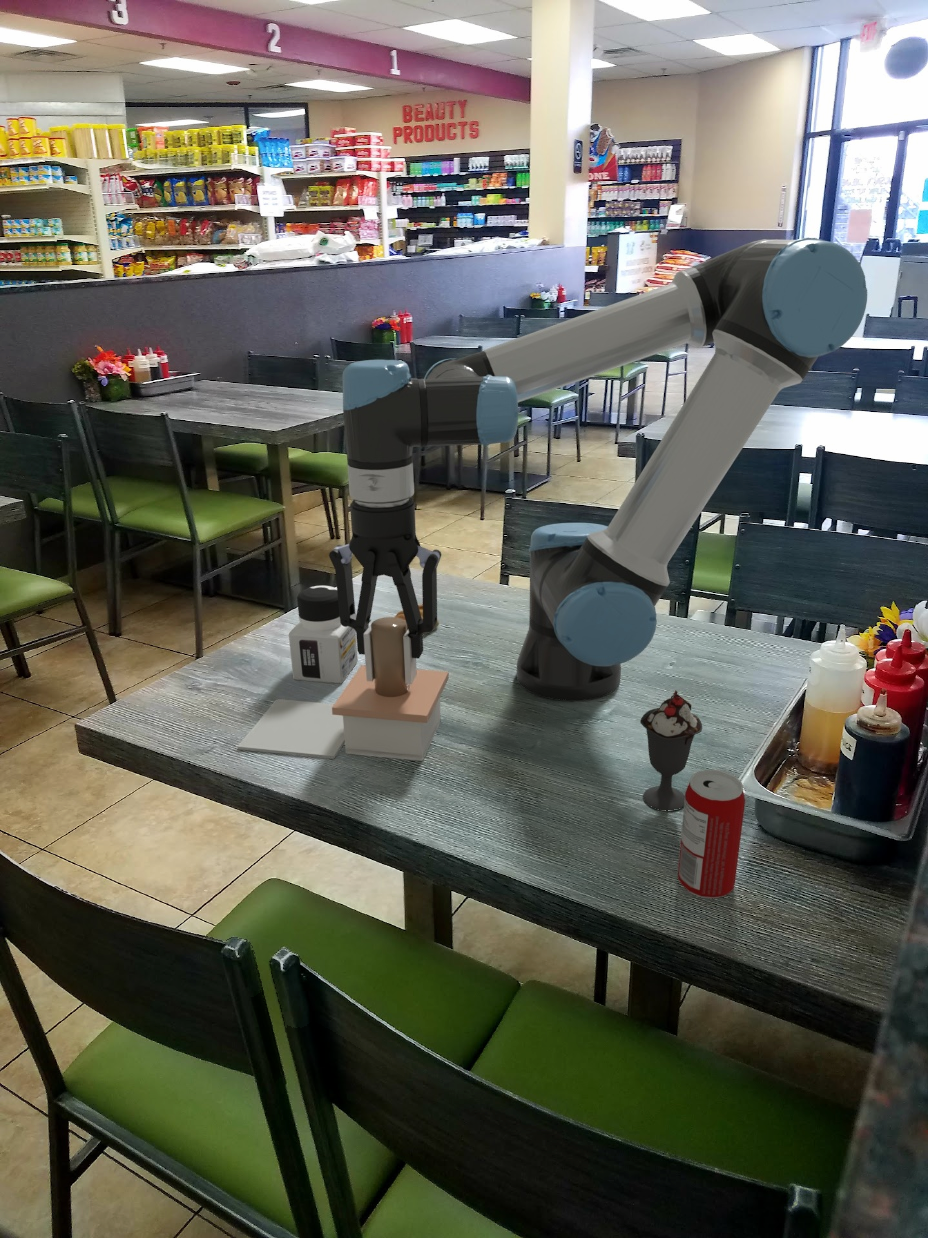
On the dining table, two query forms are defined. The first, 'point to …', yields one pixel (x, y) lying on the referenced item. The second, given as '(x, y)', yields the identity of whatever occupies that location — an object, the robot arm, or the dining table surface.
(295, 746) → the mat
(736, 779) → the soda can
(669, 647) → the dining table surface
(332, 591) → the container
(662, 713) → the sundae
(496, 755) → the dining table surface
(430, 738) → the white open box
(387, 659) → the lid
